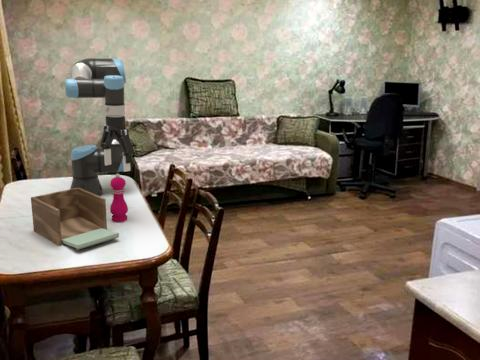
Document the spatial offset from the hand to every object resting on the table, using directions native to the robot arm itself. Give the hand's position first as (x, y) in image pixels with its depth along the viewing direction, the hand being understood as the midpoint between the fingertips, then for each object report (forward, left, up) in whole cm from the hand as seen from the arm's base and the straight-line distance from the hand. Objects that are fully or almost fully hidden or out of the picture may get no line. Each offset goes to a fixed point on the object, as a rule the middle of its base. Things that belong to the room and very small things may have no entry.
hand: (117, 167), depth 198 cm
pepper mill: (0, 0, -23) cm, 23 cm away
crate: (+21, -2, -22) cm, 31 cm away
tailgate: (+21, +7, -21) cm, 30 cm away
